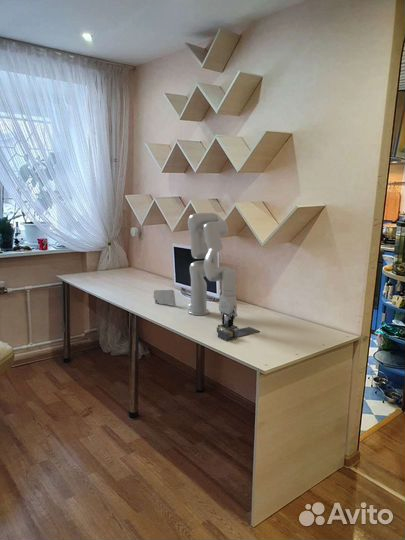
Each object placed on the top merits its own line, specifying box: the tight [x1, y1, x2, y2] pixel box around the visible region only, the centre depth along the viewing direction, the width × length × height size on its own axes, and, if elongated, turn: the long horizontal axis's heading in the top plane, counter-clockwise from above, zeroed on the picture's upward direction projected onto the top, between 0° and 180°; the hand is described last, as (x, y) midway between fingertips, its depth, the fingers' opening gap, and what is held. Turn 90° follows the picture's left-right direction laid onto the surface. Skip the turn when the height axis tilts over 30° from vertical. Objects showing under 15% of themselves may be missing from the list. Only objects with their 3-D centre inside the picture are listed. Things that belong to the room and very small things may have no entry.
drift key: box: [216, 326, 233, 337], centre depth 208 cm, size 10×3×3 cm, turn 37°
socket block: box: [217, 327, 238, 342], centre depth 206 cm, size 7×7×4 cm
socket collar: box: [217, 323, 238, 330], centre depth 222 cm, size 8×8×1 cm
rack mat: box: [235, 326, 260, 338], centre depth 215 cm, size 8×15×1 cm, turn 127°
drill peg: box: [223, 313, 232, 328], centre depth 222 cm, size 4×4×9 cm
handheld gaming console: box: [153, 288, 177, 308], centre depth 264 cm, size 11×3×15 cm
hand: (227, 324), depth 222 cm, fingers open, 4 cm apart
